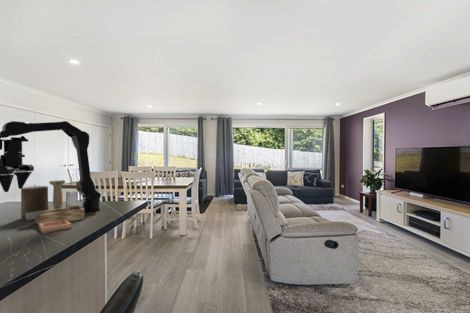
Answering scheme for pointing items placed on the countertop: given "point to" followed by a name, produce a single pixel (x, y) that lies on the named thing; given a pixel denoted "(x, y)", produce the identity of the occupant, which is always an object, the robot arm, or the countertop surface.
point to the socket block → (61, 215)
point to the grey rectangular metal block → (34, 214)
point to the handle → (57, 193)
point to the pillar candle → (33, 199)
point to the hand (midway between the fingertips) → (13, 190)
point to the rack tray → (54, 226)
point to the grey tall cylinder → (71, 201)
